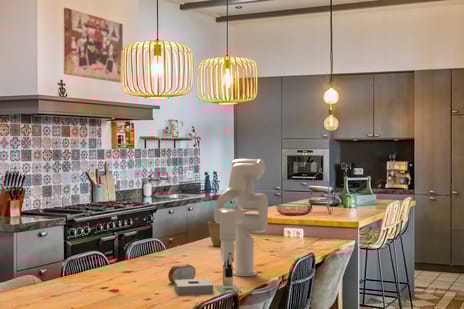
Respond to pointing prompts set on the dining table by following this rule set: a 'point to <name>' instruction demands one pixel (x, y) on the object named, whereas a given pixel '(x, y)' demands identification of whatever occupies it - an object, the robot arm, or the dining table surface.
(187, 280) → the grey plate with hole
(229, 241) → the robot arm
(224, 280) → the plug
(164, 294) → the dining table surface
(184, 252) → the dining table surface
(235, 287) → the mat
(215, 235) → the plant pot
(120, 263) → the dining table surface
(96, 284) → the dining table surface
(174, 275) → the tin
